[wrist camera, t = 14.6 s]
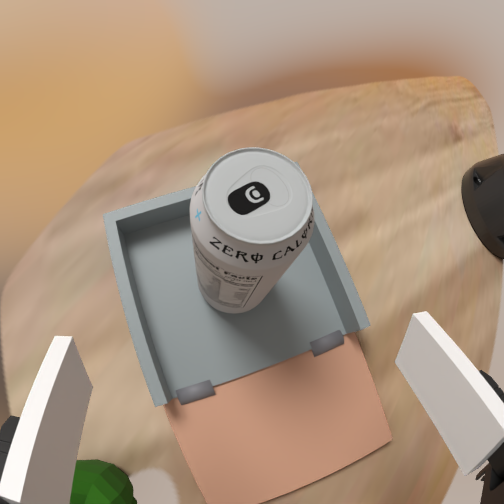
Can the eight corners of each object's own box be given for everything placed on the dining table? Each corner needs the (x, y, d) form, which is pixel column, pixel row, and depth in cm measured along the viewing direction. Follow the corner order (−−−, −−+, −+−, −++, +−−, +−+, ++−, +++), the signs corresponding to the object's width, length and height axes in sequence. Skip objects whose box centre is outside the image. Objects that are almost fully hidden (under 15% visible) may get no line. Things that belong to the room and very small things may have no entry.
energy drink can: (281, 290, 28) (351, 214, 14) (223, 329, 26) (240, 287, 12) (241, 235, 29) (272, 121, 15) (184, 270, 27) (162, 172, 13)
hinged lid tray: (286, 186, 33) (297, 161, 29) (386, 437, 26) (411, 445, 21) (115, 234, 29) (102, 214, 25) (214, 511, 22) (215, 533, 17)
